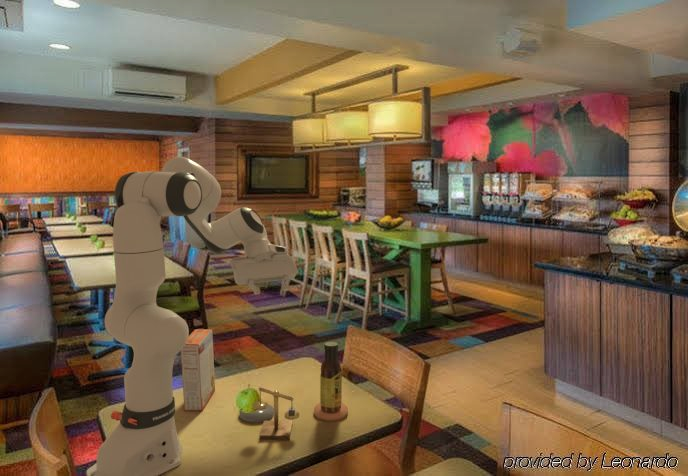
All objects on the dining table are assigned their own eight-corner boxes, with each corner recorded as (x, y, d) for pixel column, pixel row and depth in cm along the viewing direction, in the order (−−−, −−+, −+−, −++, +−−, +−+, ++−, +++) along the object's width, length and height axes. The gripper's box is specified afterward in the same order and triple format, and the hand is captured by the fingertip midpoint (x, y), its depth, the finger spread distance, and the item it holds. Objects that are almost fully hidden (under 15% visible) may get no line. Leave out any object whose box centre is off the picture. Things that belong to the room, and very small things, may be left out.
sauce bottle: (338, 415, 151) (339, 349, 148) (317, 412, 153) (317, 347, 150) (343, 404, 158) (344, 341, 155) (323, 402, 159) (323, 339, 156)
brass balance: (251, 439, 140) (250, 394, 138) (256, 424, 148) (255, 381, 146) (298, 439, 140) (297, 394, 138) (300, 424, 148) (300, 381, 146)
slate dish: (259, 426, 147) (259, 422, 147) (232, 417, 152) (232, 413, 152) (281, 411, 156) (281, 407, 156) (254, 403, 161) (254, 400, 160)
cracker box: (197, 390, 170) (194, 328, 167) (215, 391, 169) (213, 328, 166) (182, 411, 156) (179, 343, 153) (202, 411, 156) (199, 343, 153)
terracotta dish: (336, 424, 148) (336, 420, 148) (307, 415, 153) (307, 411, 153) (353, 410, 157) (353, 406, 157) (325, 402, 162) (325, 398, 162)
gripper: (230, 252, 163) (242, 290, 156) (291, 247, 173) (304, 282, 166) (226, 264, 167) (237, 301, 160) (286, 258, 177) (298, 293, 170)
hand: (272, 291), depth 163 cm, fingers open, 8 cm apart
